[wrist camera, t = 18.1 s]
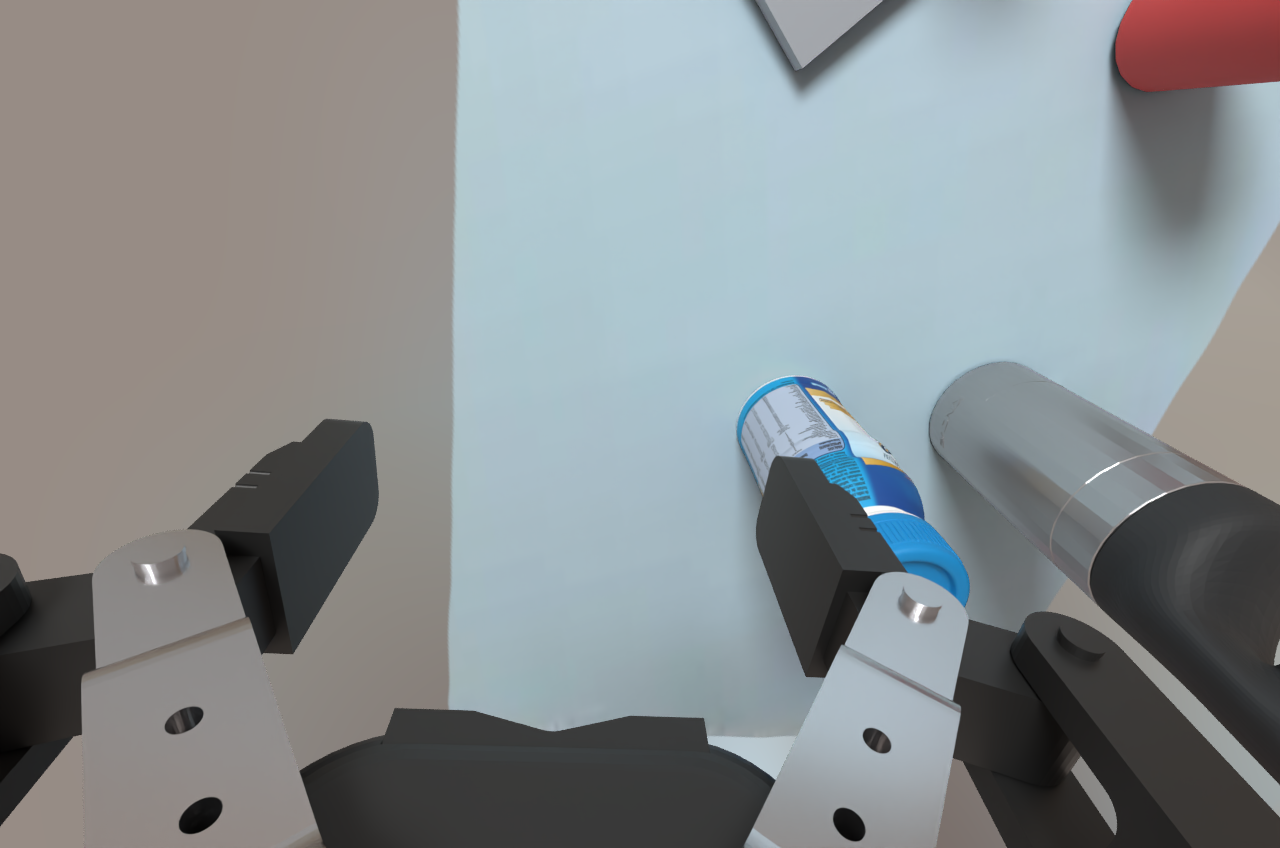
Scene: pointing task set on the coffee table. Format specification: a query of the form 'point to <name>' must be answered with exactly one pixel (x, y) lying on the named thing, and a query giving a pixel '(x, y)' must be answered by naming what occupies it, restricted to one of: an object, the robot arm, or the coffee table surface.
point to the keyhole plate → (811, 24)
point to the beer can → (1199, 43)
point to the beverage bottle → (847, 470)
